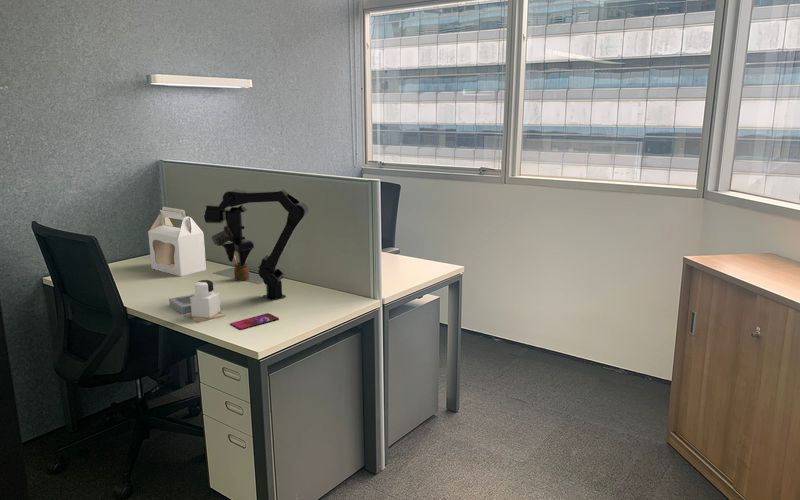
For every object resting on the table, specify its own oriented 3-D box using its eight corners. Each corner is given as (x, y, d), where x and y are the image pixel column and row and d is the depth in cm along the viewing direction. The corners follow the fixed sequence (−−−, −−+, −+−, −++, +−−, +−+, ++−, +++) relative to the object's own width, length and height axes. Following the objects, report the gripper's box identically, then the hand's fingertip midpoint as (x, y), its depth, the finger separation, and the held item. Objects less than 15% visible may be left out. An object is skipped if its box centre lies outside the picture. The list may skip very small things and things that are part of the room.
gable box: (151, 268, 269) (145, 207, 263) (176, 263, 280) (171, 204, 273) (181, 276, 257) (176, 212, 250) (206, 270, 267) (202, 208, 261)
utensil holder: (246, 281, 250) (244, 253, 247) (231, 280, 251) (230, 253, 248) (251, 277, 256) (249, 250, 253) (237, 277, 256) (235, 250, 254)
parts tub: (216, 306, 218) (216, 300, 217) (183, 314, 210) (182, 307, 209) (202, 298, 227) (202, 292, 227) (169, 305, 219) (169, 298, 219)
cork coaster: (225, 316, 208) (225, 315, 208) (197, 322, 202) (197, 321, 201) (212, 309, 215) (212, 307, 215) (185, 315, 209) (185, 313, 209)
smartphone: (229, 323, 200) (268, 312, 210) (229, 325, 200) (268, 315, 210) (240, 329, 195) (280, 318, 205) (240, 331, 195) (280, 320, 205)
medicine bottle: (202, 310, 213) (200, 277, 210) (220, 311, 211) (218, 279, 208) (191, 316, 206) (188, 283, 203) (209, 318, 204) (207, 285, 202)
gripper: (203, 222, 225) (205, 262, 229) (225, 229, 212) (227, 272, 215) (230, 219, 232) (232, 258, 236) (253, 226, 219) (255, 267, 222)
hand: (236, 263), depth 227 cm, fingers open, 9 cm apart
